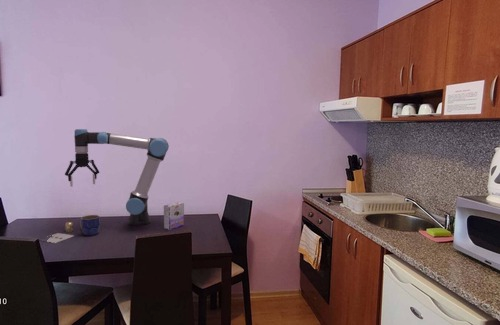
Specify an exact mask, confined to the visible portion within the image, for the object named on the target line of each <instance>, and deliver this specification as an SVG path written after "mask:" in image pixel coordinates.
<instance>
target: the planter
mask: <svg viewBox="0 0 500 325" xmlns="http://www.w3.org/2000/svg"><path fill="white" fill-rule="evenodd" d="M80 222H81V225H80V230H81V233H82V234H83V235H84V236H89V237H90V236H94V235H97V234H98V233H99V232H100V229H101V224H100V223H101V219H100V215H98V214H91V215H90V214H88V215H84V216H81V217H80Z"/></svg>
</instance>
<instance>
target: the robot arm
mask: <svg viewBox="0 0 500 325" xmlns="http://www.w3.org/2000/svg"><path fill="white" fill-rule="evenodd" d="M73 136H74V152H75V156H74V157H75V158H74V159H75V160H70V161H69V165H68V167H67V168H66V171H65V173H64V176H67V178H68V179H67V180H68V182H69V184H70V187H72V188H73V187H74V186H73V174H74V173H75V171H77V169H78V168H87V169H89V170H90V171H91V172H92V184H93V185H96V180H97V179H98V178H97V176H98V174H100V171H99V169H98V167H97V165H96V163H95V161H94V159H89V145H113V146H114V145H115V146H120V147H128V148H133V149H142V150H147V152H146V156H147V158H146V161H145V164H144V167H143V169H142V171H141V174H140V177H139V179H138V181H137V184H136V187H135V189H134V190H132V191H131V192H129V198H128V200H127V201H126V203H125V209H126V211H127V212H128V213H129V218H128V220H127V222H128V225H130V226H135V227H137V226H145V225H148V224H150V223H151V217H150V214H149V212H148V211H149V210H148V206H149V205H148V199H149V195H148V193H149V191H150V189H151V187H152V184H153V181H154V179H155V176H156V174H157V171H158V168H159V165H160V164H161V162H163V161H164V159H165V157H166V155H167V153H168V150H169V146H170V145H169V143H168V141H167V140H166V138H165V139H164V138H162V137H158V138H156V137H149V138H144V137H138V136H130V135H123V134H118V133H117V134H116V133H109V132H106V131H97V132H95V131H93V132H92V131H91V132H88V129H86V128H85V129H84V128H81V129H80V128H79V129H78V128H77V129H74V135H73ZM89 163H90V164H91V166H92V167H93V168H92V167H91V166H90V165H89ZM74 164H75V166H74V167H73V165H74Z"/></svg>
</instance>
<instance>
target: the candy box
mask: <svg viewBox="0 0 500 325" xmlns="http://www.w3.org/2000/svg"><path fill="white" fill-rule="evenodd" d="M183 226H185V202H181V201H177V202H173V203H170V204H163V228H164V229H165V230H168V231H171V230H174V229H177V228H180V227H183Z"/></svg>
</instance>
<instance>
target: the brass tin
mask: <svg viewBox="0 0 500 325" xmlns="http://www.w3.org/2000/svg"><path fill="white" fill-rule="evenodd" d="M73 227H74V226H73V221H67V222H65V233H67V232H69V233H72V232H73V230H74V229H73Z"/></svg>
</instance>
